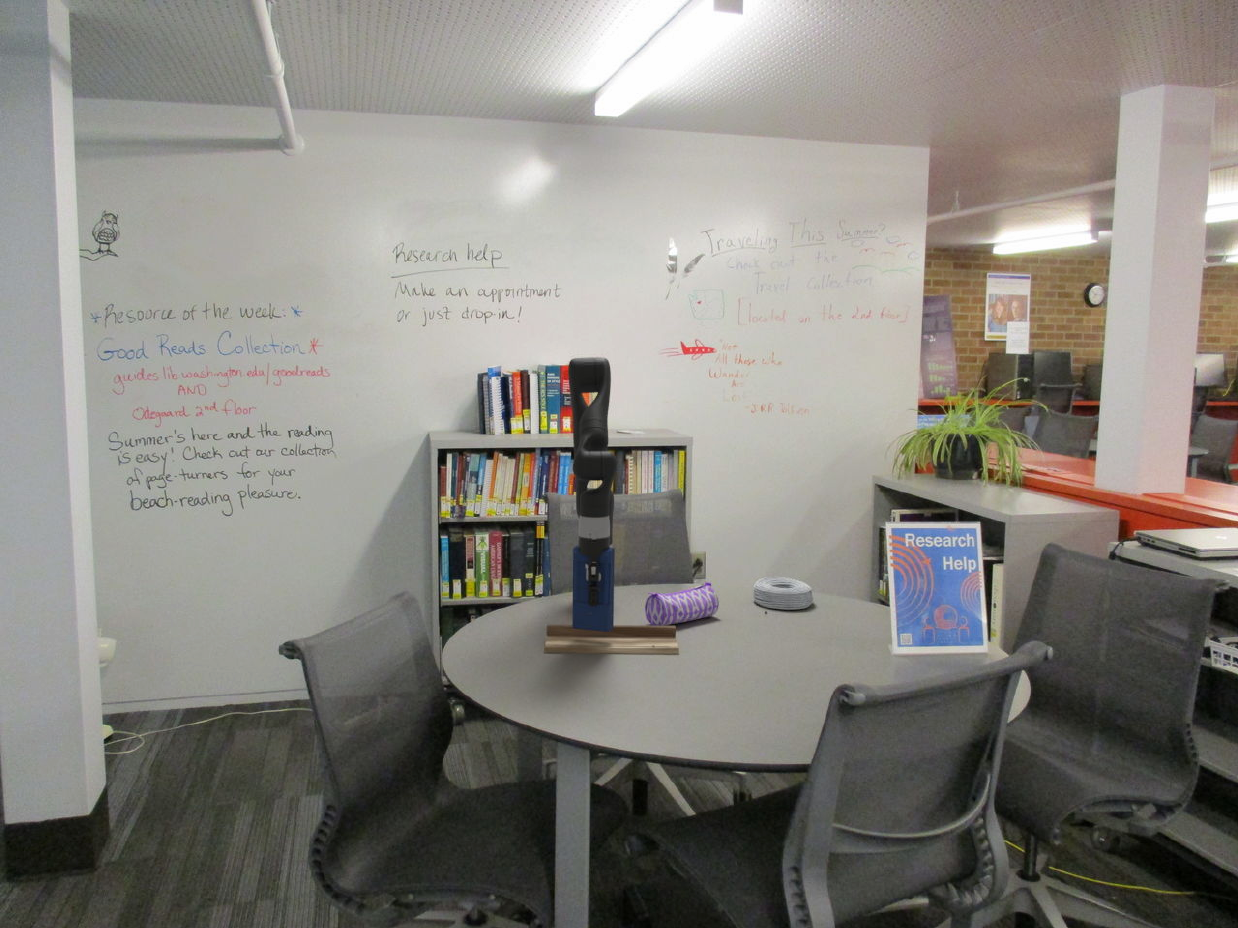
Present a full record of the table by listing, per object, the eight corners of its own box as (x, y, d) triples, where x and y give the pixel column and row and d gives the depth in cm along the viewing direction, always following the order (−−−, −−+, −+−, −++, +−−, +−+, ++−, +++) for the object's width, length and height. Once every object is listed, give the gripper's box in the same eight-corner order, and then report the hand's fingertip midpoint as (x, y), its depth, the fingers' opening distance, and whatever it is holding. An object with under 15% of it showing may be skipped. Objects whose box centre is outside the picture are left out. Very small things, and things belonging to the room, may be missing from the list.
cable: (769, 592, 269) (769, 573, 268) (822, 602, 258) (823, 582, 258) (742, 604, 255) (742, 584, 254) (797, 615, 244) (798, 594, 244)
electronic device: (614, 627, 214) (615, 546, 211) (608, 633, 209) (609, 551, 206) (577, 623, 216) (578, 544, 214) (571, 629, 211) (571, 548, 209)
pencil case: (698, 610, 247) (699, 577, 246) (722, 617, 240) (723, 584, 239) (640, 624, 233) (641, 590, 232) (665, 633, 226) (666, 597, 225)
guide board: (547, 640, 218) (547, 624, 218) (675, 641, 219) (675, 625, 218) (544, 653, 208) (544, 636, 208) (678, 654, 209) (679, 638, 208)
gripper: (579, 527, 217) (578, 594, 219) (577, 539, 203) (576, 610, 205) (609, 528, 217) (608, 594, 219) (610, 540, 203) (608, 610, 205)
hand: (593, 601), depth 212 cm, fingers closed on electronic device, 6 cm apart
